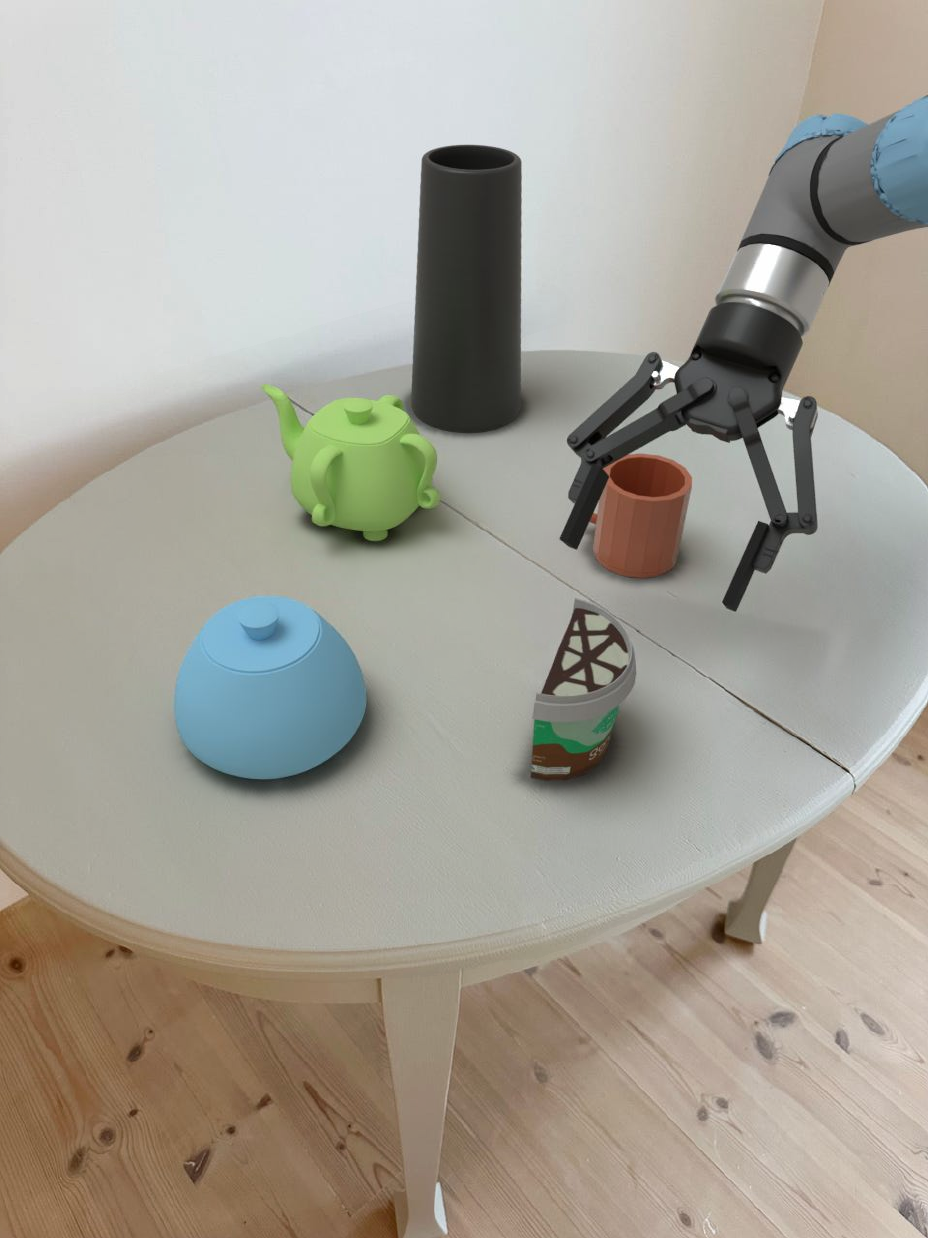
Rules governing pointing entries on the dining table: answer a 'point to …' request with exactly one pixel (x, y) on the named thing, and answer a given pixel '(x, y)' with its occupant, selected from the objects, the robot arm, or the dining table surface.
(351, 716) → the sugar bowl
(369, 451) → the teapot
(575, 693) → the food container
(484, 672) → the dining table surface
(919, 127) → the robot arm
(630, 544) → the mug
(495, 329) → the vase
